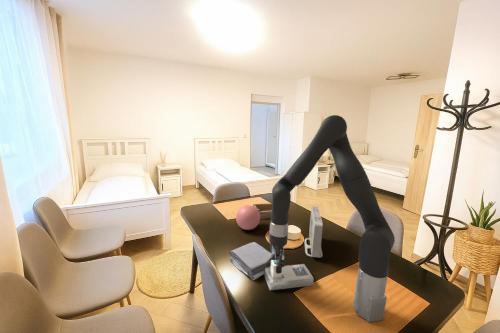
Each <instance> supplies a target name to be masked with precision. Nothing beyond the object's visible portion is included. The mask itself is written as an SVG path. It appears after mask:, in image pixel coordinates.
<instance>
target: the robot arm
mask: <svg viewBox="0 0 500 333" xmlns="http://www.w3.org/2000/svg"><path fill="white" fill-rule="evenodd" d="M347 131H348V124H347V121H346V120H345V118H344V117H343V116H341V115H338V114H337V115H336V114H333V115H329V116H327V117H326V118H325V119H323V120H322V122H321V124H320V126H319V128H318V130H317V132H316V134H315V135H314V137H313V139H312V140H310V141H311V142H310V143H309V144H308V146H307V147H306V148H305V149H304V150H303V152H302V153H301V154H300V156H299V157H298V158H297V159H296V160H295V161H294V163H293V164H292V165H291V166H290V168H289V169H288V171H287V172H286V173H285V174H284V175H283V176H281V177H280V179H279V180H278V181H277V182H276V183H275V184H274V186H273V187H272V188H271V189H272V190H271V194H272V210H270V211H271V218H270V224H269V234H268V235H269V236H268V241H269V244H270V253H272V256H273V257H272V260H276V273H277V274H280V273H282V267H284V266H286V265H285V264H286V260H287V254H284V252H285V249H284V247H285V246H286V245H287V244H288V236H289V216H290V215H289V210H290V208H291V198H292V196H291V192H292V191H293V190H294V188H296V187H298V186H300V185H302V183H303V182H304V181H305V179H306V178H307V177H308V176H309V175H310V173H311V172H312V171H313V170H314V168H315V166H316V165H317V163H318V162H319V160H320V159H321V158H322V156H323V155H324V154H325V152H327V151H328V150H329V152H330V154H331V155H332V156H331V157H332V158H333V163H334V166H335V170H336V172H337V175H338V179H339V182H340V184H341V187H342V189H343V193H344V195H345V196H346V198H347V199H348V200H349V202H350V203H351V204H352V205H353V206H354V208H355V209H356V210H357V212H358V213H359V216H360V218H361V220H362V222H363V226H364V229H365V231H364V232H363V233H362V235H361V238H360V242H359V247H358V248H359V249H358V256H357V257H358V270H357V277H356V282H355V288H354V289H355V290H354V297H353V310H354V312H355V313H356V315H358V316H359V317H360V318H363V320H365V321H367V323H372V322H377V321H378V322H379V321H383V320H384V315H385V309H386V303H387V296H386V295H385V294H386V287H387V281H388V276H389V270H390V268H389V263H390V257H391V252H392V249H393V247H394V245H395V240H396V239H395V238H396V237H395V235H394V232H393V230H392V228H391V227H390V225H389V223H388V221H387V219H386V217H385V216H384V213H383V212H382V210H381V208H380V206H379V203H378V200H377V197H376V195H375V191H374V190H373V187H372V183H371V181H370V179H369V177H368V174H367V173H366V170H365V168H364V167H363V165H362V163H361V161H360V160H359V158H358V157H357V155H356V154H355V153H354V151H353V148H352V146H351V144H350V140H349V138H348V134H347V133H348V132H347ZM278 260H279V261H278Z"/></svg>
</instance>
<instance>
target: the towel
mask: <svg viewBox="0 0 500 333" xmlns="http://www.w3.org/2000/svg"><path fill="white" fill-rule="evenodd" d="M229 256H230V257H229V258H230V259H229V261H230V262H231V263H232V264H233V265H234V266H235V267H236V269H237V270H239V271H241V272H242V273H244V274H245V275H246V276H248V277H249V278H250V279H251V280H252V281H255V280H257V279H258V278H260V277H261V276H264V268H269V267H271V260H272V257H273V256H272V253H271V251H269V250H267V249H266V248H264V247H263V246H261V245H260V244H258V243H257V242H255V241H253V242H249V243H247V244H245V245H244V244H243V245H242V246H240V247H237V248H234V249H233V250H230V252H229Z"/></svg>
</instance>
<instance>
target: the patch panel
mask: <svg viewBox="0 0 500 333" xmlns="http://www.w3.org/2000/svg"><path fill="white" fill-rule="evenodd" d="M270 271H271V267H269V268H264V275H263V276H264V279H265V282H266V284H267V286H268V290H269V291H276V290H285V289H286V290H287V289H293V288H300V287H308V286H309V287H310V286H314V276H313V275H312V273H311V272H310V270H309V269H308V267H307V266H306V265H305V263H302V264H301V263H300V264H299V263H298V264H291V265H290V264H288V265H285V266H284V267H283V272H282V278H277V279H272V278H271V276H270Z"/></svg>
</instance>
